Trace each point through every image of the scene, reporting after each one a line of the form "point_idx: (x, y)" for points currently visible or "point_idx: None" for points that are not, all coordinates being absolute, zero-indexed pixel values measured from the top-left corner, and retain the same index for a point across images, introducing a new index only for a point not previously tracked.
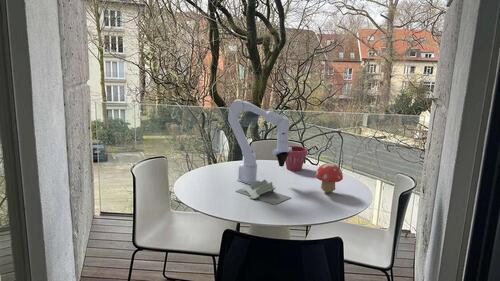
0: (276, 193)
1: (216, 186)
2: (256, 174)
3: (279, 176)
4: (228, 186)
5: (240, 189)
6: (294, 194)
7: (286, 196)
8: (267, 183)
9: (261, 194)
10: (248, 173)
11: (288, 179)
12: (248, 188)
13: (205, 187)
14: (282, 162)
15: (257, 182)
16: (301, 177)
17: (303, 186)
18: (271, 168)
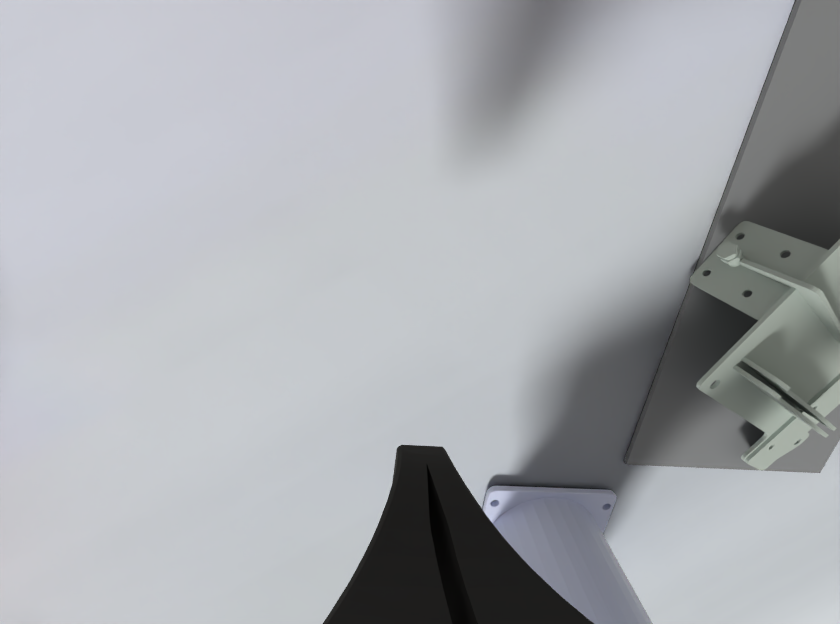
0: (747, 189)
1: (761, 595)
2: (541, 557)
3: (214, 450)
4: (727, 555)
5: (773, 468)
6: (662, 4)
7: (797, 42)
8: (764, 337)
9: None
10: (638, 598)
11: (221, 339)
12: (796, 427)
13: (806, 618)
14: (476, 503)
15: (805, 417)
16: (10, 266)
17: (308, 59)
18: (68, 613)
